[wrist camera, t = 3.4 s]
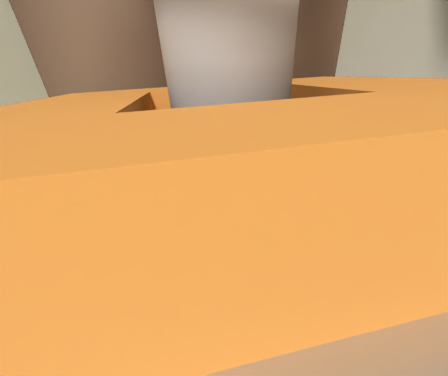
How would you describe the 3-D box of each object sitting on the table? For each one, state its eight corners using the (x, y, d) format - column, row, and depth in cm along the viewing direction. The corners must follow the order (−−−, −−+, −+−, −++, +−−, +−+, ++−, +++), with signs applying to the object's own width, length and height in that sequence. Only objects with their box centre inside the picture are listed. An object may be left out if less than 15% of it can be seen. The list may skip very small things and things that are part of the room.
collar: (323, 76, 10) (829, 85, 2) (311, 156, 12) (560, 311, 4) (71, 93, 8) (-1087, 306, 1) (103, 182, 10) (-117, 502, 3)
